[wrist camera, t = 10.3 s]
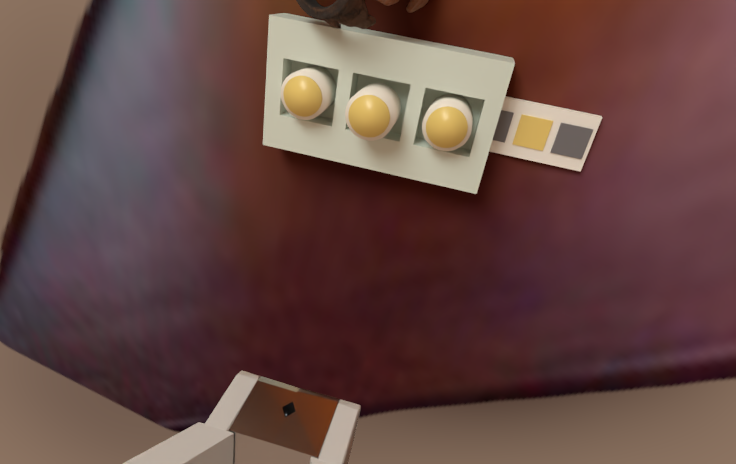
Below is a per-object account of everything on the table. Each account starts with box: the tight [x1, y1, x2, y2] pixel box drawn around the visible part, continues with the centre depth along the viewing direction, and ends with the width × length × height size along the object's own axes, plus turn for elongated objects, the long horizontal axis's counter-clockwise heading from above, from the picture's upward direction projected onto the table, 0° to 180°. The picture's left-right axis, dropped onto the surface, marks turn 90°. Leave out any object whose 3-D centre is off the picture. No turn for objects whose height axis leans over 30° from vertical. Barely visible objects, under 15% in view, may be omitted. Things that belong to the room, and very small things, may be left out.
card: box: [489, 96, 602, 172], centre depth 37 cm, size 9×4×1 cm, turn 80°
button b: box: [345, 83, 401, 141], centre depth 35 cm, size 4×4×3 cm
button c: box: [281, 65, 337, 120], centre depth 37 cm, size 4×4×3 cm
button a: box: [422, 94, 473, 151], centre depth 36 cm, size 4×4×3 cm
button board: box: [263, 13, 515, 194], centre depth 37 cm, size 18×10×3 cm, turn 80°
